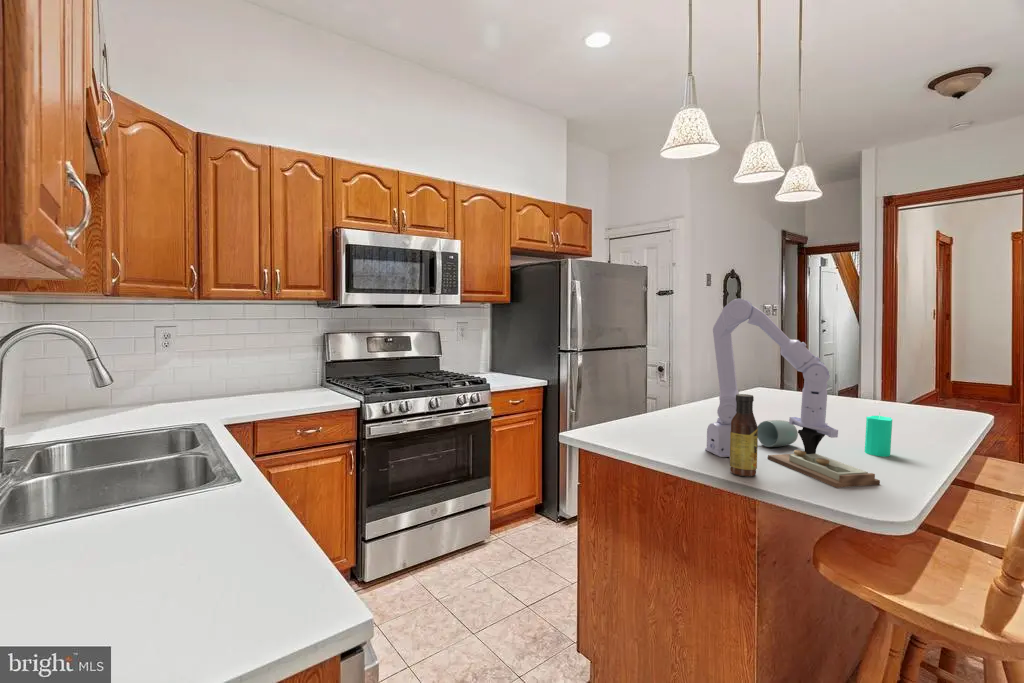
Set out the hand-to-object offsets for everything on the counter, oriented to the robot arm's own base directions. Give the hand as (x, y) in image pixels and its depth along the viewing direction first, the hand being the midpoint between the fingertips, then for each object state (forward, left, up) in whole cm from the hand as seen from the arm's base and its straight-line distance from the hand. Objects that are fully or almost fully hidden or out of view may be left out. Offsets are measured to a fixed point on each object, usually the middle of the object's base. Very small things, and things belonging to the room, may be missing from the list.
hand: (810, 456), depth 135 cm
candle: (+27, +5, -2) cm, 27 cm away
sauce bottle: (-23, -4, -2) cm, 24 cm away
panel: (-2, -8, -1) cm, 8 cm away
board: (-2, -6, -2) cm, 7 cm away
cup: (+9, +18, +2) cm, 20 cm away
